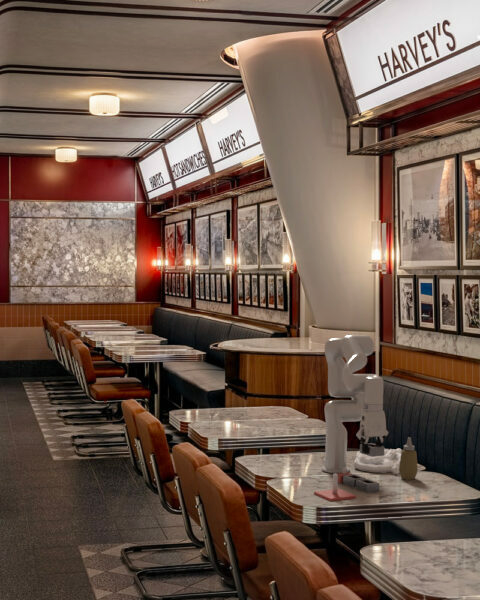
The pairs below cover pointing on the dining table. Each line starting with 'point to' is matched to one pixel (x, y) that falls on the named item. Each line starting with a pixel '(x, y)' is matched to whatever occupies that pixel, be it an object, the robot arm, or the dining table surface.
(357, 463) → the pretzel
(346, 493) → the keeper
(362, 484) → the link
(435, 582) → the dining table surface
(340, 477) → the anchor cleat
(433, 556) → the dining table surface
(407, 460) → the squeeze bottle
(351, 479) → the link
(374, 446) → the end link
